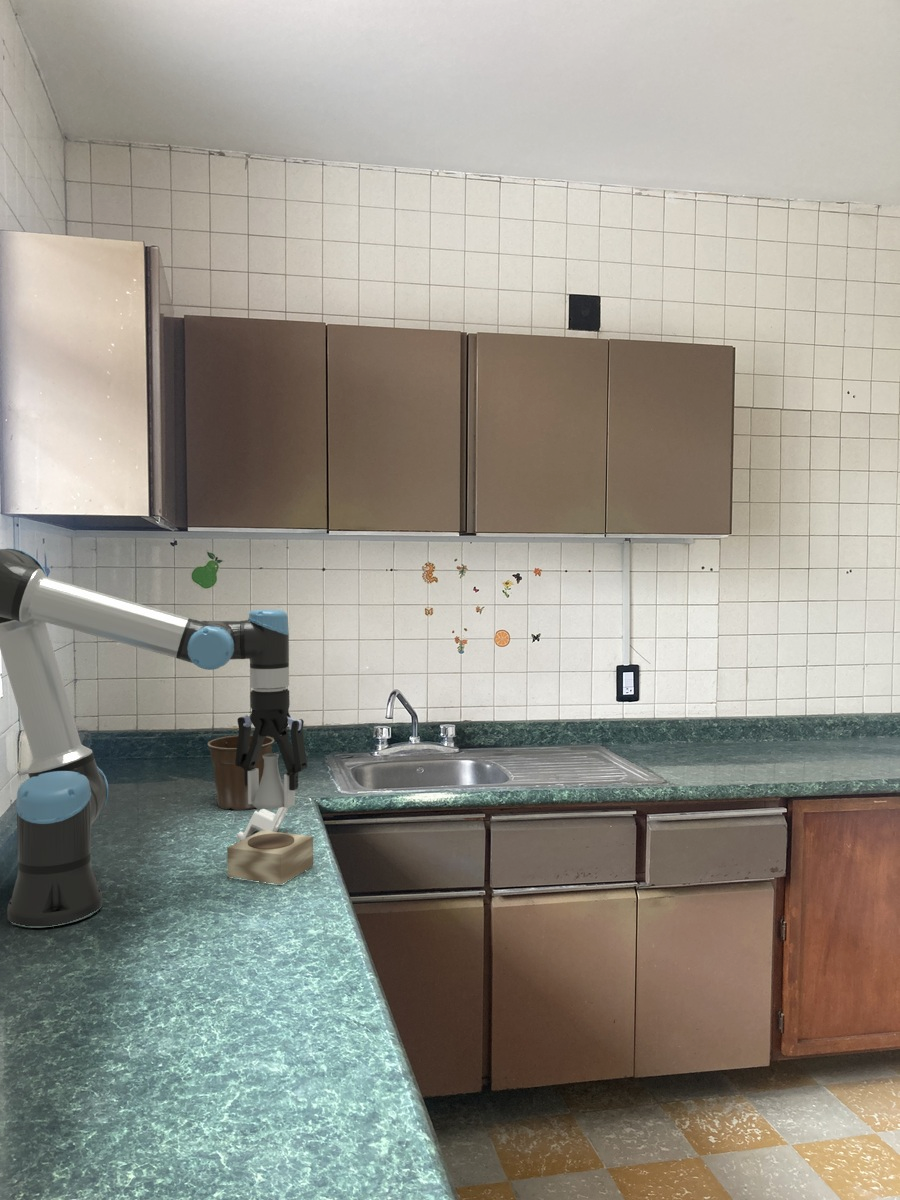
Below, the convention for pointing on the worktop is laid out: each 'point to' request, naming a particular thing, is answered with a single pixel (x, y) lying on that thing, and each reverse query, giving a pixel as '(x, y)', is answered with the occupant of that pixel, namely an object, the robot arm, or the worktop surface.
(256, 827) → the mounting bracket
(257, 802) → the flask
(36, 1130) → the worktop surface
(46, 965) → the worktop surface
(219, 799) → the plant pot
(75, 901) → the robot arm
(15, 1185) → the worktop surface
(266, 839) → the wooden stand
